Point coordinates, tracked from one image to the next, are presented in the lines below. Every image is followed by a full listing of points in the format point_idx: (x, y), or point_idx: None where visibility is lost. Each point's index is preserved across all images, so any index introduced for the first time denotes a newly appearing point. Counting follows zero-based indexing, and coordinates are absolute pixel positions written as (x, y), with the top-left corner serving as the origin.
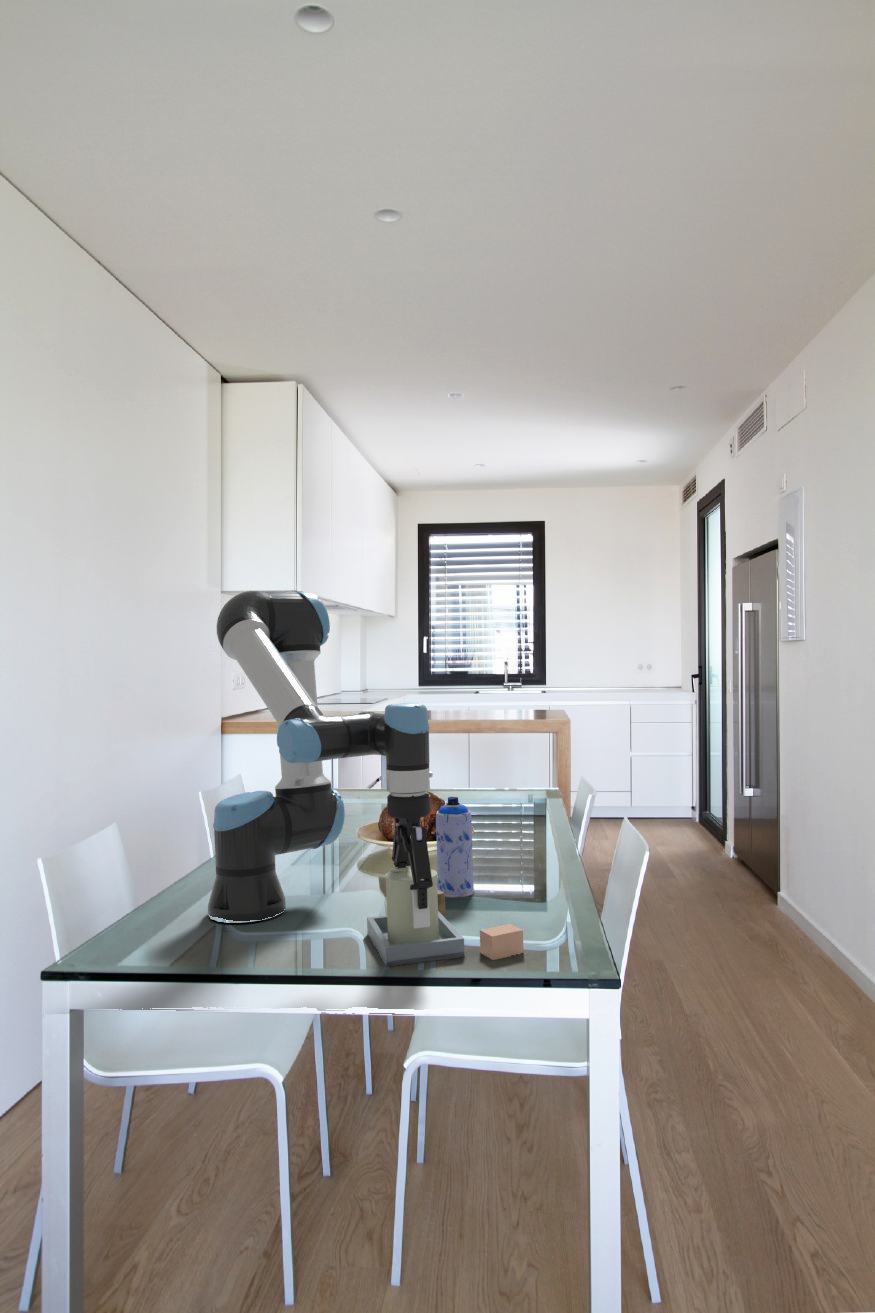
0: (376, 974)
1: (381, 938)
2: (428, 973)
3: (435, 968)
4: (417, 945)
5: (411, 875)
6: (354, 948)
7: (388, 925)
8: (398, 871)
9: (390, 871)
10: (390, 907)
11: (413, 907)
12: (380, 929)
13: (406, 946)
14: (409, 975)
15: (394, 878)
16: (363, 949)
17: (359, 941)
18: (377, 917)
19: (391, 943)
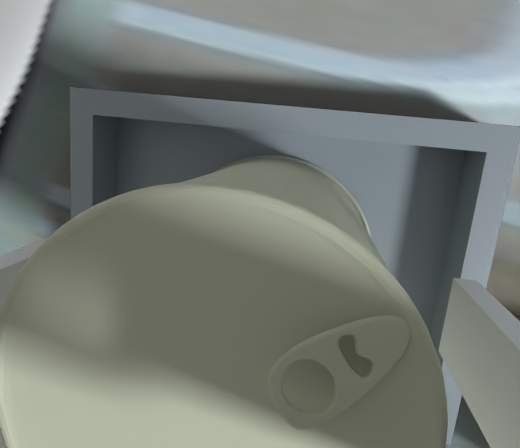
0: (55, 42)
1: (187, 104)
2: (15, 201)
3: (46, 235)
4: (72, 213)
5: (167, 404)
6: (343, 30)
7: (260, 163)
8: (294, 349)
9: (387, 295)
10: (207, 174)
11: (16, 254)
12: (461, 180)
13: (70, 171)
14: (16, 142)
15: (133, 244)
16: (315, 63)
17: (417, 72)
18: (491, 175)
19: (242, 160)
